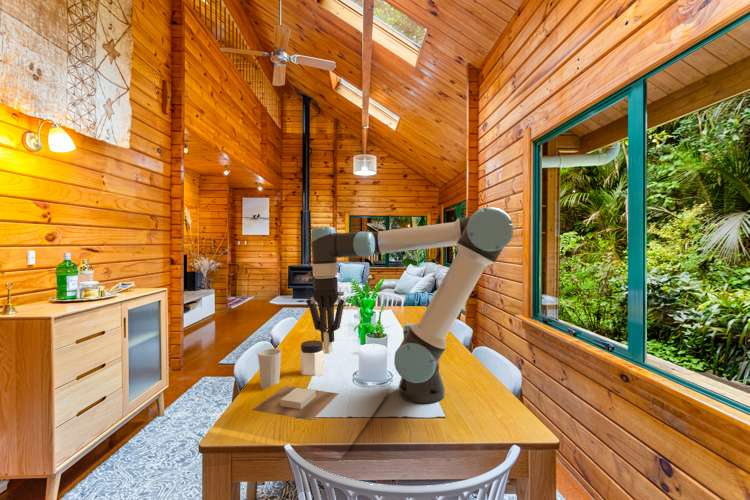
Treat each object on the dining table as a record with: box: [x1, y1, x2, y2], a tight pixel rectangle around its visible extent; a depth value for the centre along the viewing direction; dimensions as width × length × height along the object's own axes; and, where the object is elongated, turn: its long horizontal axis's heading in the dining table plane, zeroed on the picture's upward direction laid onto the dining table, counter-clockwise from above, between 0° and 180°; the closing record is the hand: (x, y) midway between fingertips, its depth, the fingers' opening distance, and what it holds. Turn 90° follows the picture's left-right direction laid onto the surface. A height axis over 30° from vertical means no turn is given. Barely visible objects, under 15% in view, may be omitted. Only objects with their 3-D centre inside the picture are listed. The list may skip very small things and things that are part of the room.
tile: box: [280, 387, 317, 409], centre depth 109 cm, size 2×9×7 cm
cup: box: [257, 348, 282, 390], centre depth 124 cm, size 8×8×12 cm
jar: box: [300, 339, 325, 378], centre depth 135 cm, size 9×8×12 cm
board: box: [251, 385, 339, 421], centre depth 110 cm, size 20×18×1 cm
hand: (328, 352), depth 110 cm, fingers closed
